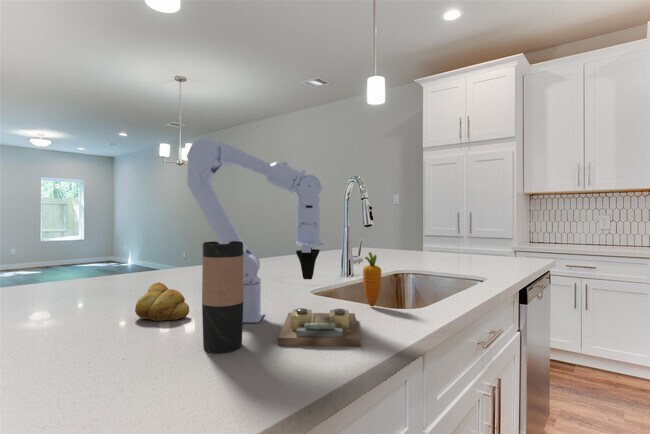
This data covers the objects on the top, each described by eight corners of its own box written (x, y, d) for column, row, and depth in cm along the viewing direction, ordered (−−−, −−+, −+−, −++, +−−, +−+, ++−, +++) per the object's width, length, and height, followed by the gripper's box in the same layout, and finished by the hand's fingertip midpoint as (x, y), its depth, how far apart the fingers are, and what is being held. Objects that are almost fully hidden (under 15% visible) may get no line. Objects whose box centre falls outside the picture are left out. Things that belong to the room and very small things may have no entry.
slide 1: (290, 330, 77) (290, 312, 76) (293, 323, 82) (293, 306, 81) (310, 330, 76) (310, 312, 76) (311, 323, 81) (311, 306, 81)
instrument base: (278, 345, 72) (278, 325, 72) (288, 318, 90) (288, 302, 90) (360, 346, 72) (360, 326, 72) (354, 319, 90) (354, 303, 90)
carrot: (380, 310, 99) (380, 253, 99) (361, 309, 100) (362, 253, 100) (381, 305, 104) (381, 251, 104) (363, 304, 105) (364, 251, 105)
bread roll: (197, 316, 93) (198, 284, 92) (168, 327, 84) (168, 291, 83) (158, 310, 97) (158, 280, 97) (126, 320, 88) (126, 287, 88)
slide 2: (329, 330, 76) (329, 313, 76) (329, 323, 81) (329, 307, 81) (349, 330, 76) (349, 313, 76) (348, 323, 81) (348, 307, 81)
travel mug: (221, 357, 66) (221, 244, 66) (193, 348, 70) (193, 242, 70) (251, 344, 73) (252, 242, 72) (224, 337, 77) (224, 240, 76)
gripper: (323, 225, 85) (323, 284, 85) (324, 223, 99) (324, 274, 99) (292, 224, 85) (292, 284, 85) (298, 223, 99) (298, 273, 99)
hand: (307, 278), depth 92 cm, fingers closed
